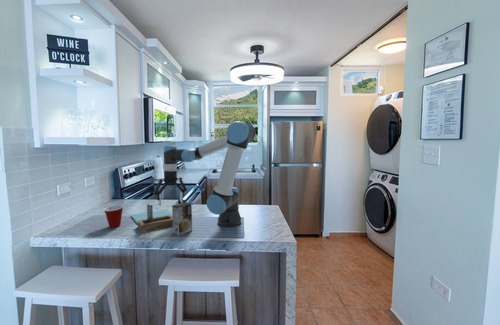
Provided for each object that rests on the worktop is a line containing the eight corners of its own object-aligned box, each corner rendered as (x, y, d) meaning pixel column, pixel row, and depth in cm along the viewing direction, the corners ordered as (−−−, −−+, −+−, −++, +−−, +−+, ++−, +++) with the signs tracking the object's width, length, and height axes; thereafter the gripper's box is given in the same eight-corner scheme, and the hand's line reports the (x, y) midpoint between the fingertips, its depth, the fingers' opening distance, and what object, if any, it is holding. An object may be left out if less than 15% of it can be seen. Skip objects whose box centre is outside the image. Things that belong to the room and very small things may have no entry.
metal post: (153, 227, 142) (152, 204, 141) (148, 228, 140) (147, 205, 139) (152, 226, 145) (151, 203, 143) (147, 227, 143) (146, 204, 142)
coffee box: (185, 228, 142) (185, 201, 140) (192, 230, 138) (192, 203, 136) (172, 232, 135) (171, 205, 133) (179, 235, 131) (178, 207, 129)
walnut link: (176, 224, 147) (176, 218, 147) (141, 232, 135) (141, 225, 135) (170, 220, 155) (170, 214, 155) (137, 227, 143) (137, 220, 143)
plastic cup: (106, 224, 147) (105, 205, 146) (125, 222, 151) (124, 204, 150) (102, 230, 137) (101, 210, 136) (123, 228, 141) (122, 208, 140)
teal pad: (175, 217, 162) (175, 215, 162) (137, 224, 147) (137, 222, 147) (165, 210, 178) (165, 209, 178) (130, 216, 163) (130, 214, 163)
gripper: (187, 168, 158) (187, 199, 160) (147, 170, 143) (148, 205, 145) (191, 169, 152) (191, 202, 154) (151, 172, 137) (151, 208, 139)
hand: (170, 203), depth 149 cm, fingers open, 13 cm apart
